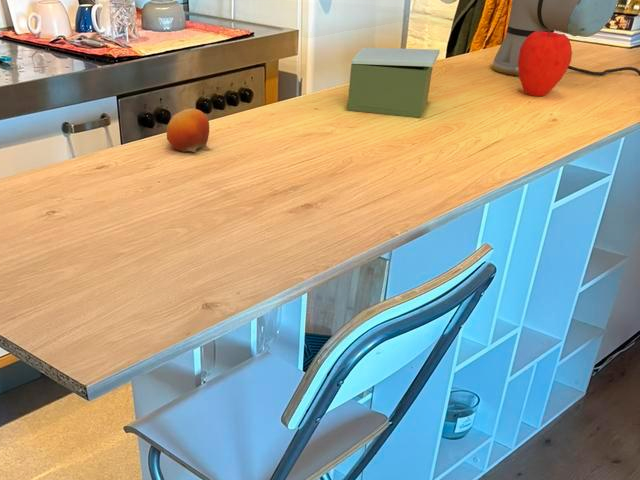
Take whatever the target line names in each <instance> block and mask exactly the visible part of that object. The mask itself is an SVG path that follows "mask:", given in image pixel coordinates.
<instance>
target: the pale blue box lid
mask: <svg viewBox="0 0 640 480" xmlns="http://www.w3.org/2000/svg"><path fill="white" fill-rule="evenodd" d="M440 53H441V52H440V49H431V48H430V49H428V48H427V49H426V48H401V47H400V48H397V47H396V48H395V47H394V48H393V47H369V46H368V47H366V46H365V47H362V48H361V49H360V50H359V51H358V52H357V53H356V54H355V56H354V57H353V58H352V59H351V64H369V65H397V66H424V67H434V65H435V63H436V61H437V59H438V57H439V55H440Z"/></svg>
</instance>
